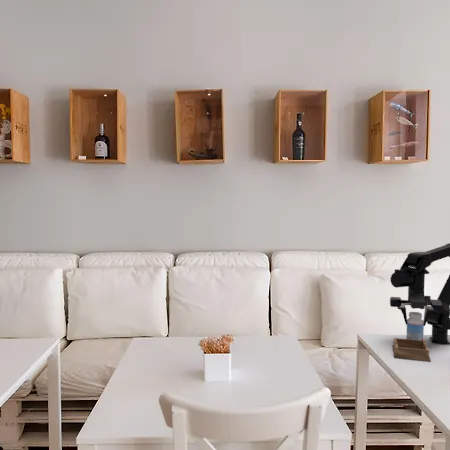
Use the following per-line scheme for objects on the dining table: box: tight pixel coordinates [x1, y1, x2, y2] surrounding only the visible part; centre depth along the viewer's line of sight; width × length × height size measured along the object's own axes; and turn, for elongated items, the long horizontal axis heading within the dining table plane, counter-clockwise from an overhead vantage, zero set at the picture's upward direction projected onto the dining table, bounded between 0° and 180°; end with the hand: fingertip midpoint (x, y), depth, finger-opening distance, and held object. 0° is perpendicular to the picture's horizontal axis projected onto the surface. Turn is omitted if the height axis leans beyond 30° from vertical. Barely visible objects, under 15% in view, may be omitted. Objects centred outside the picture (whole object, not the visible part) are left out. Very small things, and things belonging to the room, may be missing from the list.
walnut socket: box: [391, 337, 432, 363], centre depth 161 cm, size 12×12×4 cm
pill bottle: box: [405, 311, 425, 341], centre depth 171 cm, size 6×6×11 cm
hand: (415, 325), depth 171 cm, fingers closed on pill bottle, 6 cm apart
